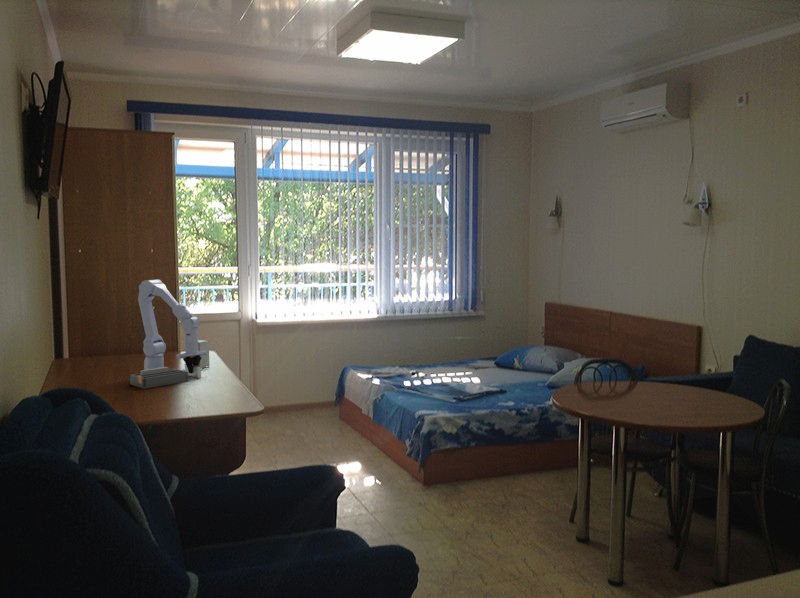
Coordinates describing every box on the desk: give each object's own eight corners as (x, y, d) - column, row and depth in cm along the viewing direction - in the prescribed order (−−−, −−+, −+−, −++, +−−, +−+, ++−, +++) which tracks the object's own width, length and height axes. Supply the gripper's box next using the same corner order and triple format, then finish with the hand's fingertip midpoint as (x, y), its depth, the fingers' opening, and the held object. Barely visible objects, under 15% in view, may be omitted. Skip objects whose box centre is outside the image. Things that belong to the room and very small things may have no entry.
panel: (184, 374, 311) (184, 363, 311) (188, 374, 313) (187, 363, 312) (197, 378, 303) (197, 366, 303) (201, 377, 304) (200, 366, 304)
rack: (129, 384, 292) (128, 371, 291) (173, 377, 306) (173, 365, 306) (142, 388, 282) (142, 375, 282) (188, 381, 297) (187, 368, 296)
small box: (188, 367, 331) (187, 341, 330) (198, 365, 337) (197, 339, 336) (200, 368, 327) (199, 342, 326) (210, 366, 333) (209, 340, 332)
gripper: (180, 345, 299) (182, 376, 300) (210, 342, 309) (211, 371, 310) (173, 344, 304) (174, 374, 305) (202, 340, 314) (203, 369, 315)
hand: (192, 372), depth 308 cm, fingers closed on panel, 2 cm apart
